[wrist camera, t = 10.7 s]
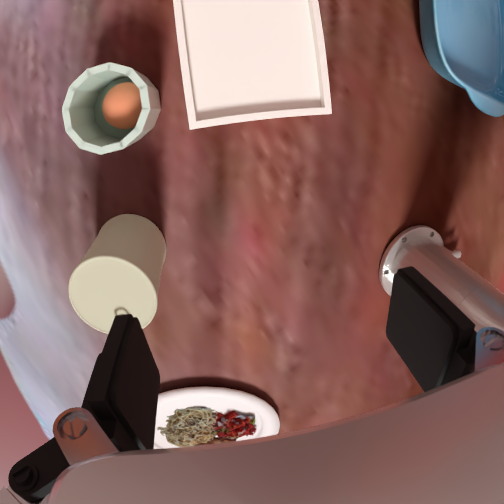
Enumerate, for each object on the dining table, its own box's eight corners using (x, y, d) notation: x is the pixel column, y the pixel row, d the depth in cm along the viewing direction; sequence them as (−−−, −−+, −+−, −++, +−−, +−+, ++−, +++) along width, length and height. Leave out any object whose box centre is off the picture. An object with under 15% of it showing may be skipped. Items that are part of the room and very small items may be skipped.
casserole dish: (396, -101, 20) (419, -116, 14) (491, -43, 24) (516, -49, 18) (399, 89, 35) (432, 90, 29) (496, 126, 39) (526, 134, 33)
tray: (308, -21, 27) (313, -26, 26) (326, 113, 35) (331, 113, 34) (172, -13, 26) (171, -19, 24) (190, 128, 34) (189, 129, 32)
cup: (155, 65, 30) (142, 53, 22) (165, 134, 34) (155, 141, 26) (86, 83, 29) (57, 79, 22) (97, 150, 33) (72, 162, 25)
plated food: (99, 421, 53) (97, 434, 50) (207, 353, 48) (208, 368, 45) (201, 471, 65) (202, 482, 62) (304, 422, 61) (308, 434, 58)
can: (118, 289, 41) (99, 348, 30) (84, 231, 37) (49, 278, 26) (178, 265, 41) (174, 322, 30) (146, 201, 37) (127, 241, 26)
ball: (140, 82, 31) (151, 74, 27) (147, 124, 33) (158, 121, 29) (97, 91, 28) (101, 84, 24) (104, 134, 31) (109, 133, 27)
